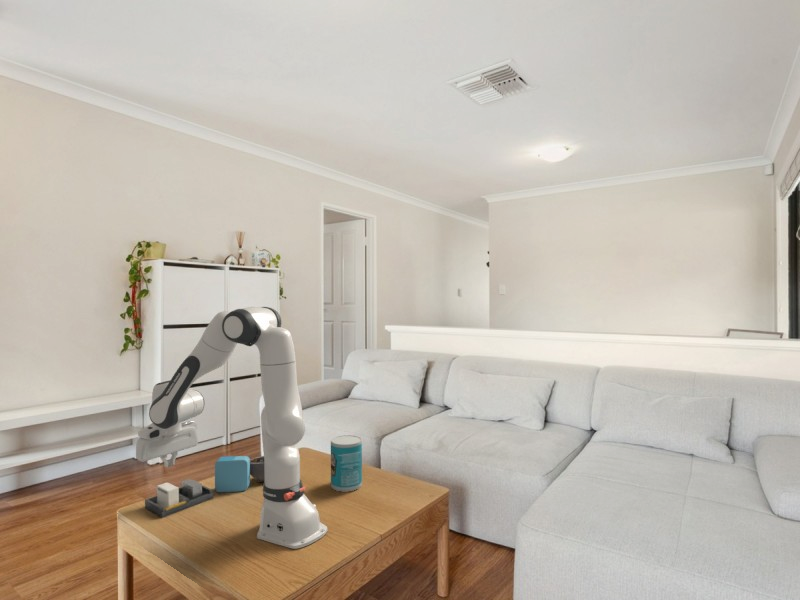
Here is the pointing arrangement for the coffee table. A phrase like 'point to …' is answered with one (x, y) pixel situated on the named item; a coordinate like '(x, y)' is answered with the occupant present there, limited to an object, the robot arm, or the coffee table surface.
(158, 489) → the beige rectangular block
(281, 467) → the robot arm
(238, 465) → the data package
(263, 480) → the planter
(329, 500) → the coffee table surface
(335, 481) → the food can
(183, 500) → the rack
